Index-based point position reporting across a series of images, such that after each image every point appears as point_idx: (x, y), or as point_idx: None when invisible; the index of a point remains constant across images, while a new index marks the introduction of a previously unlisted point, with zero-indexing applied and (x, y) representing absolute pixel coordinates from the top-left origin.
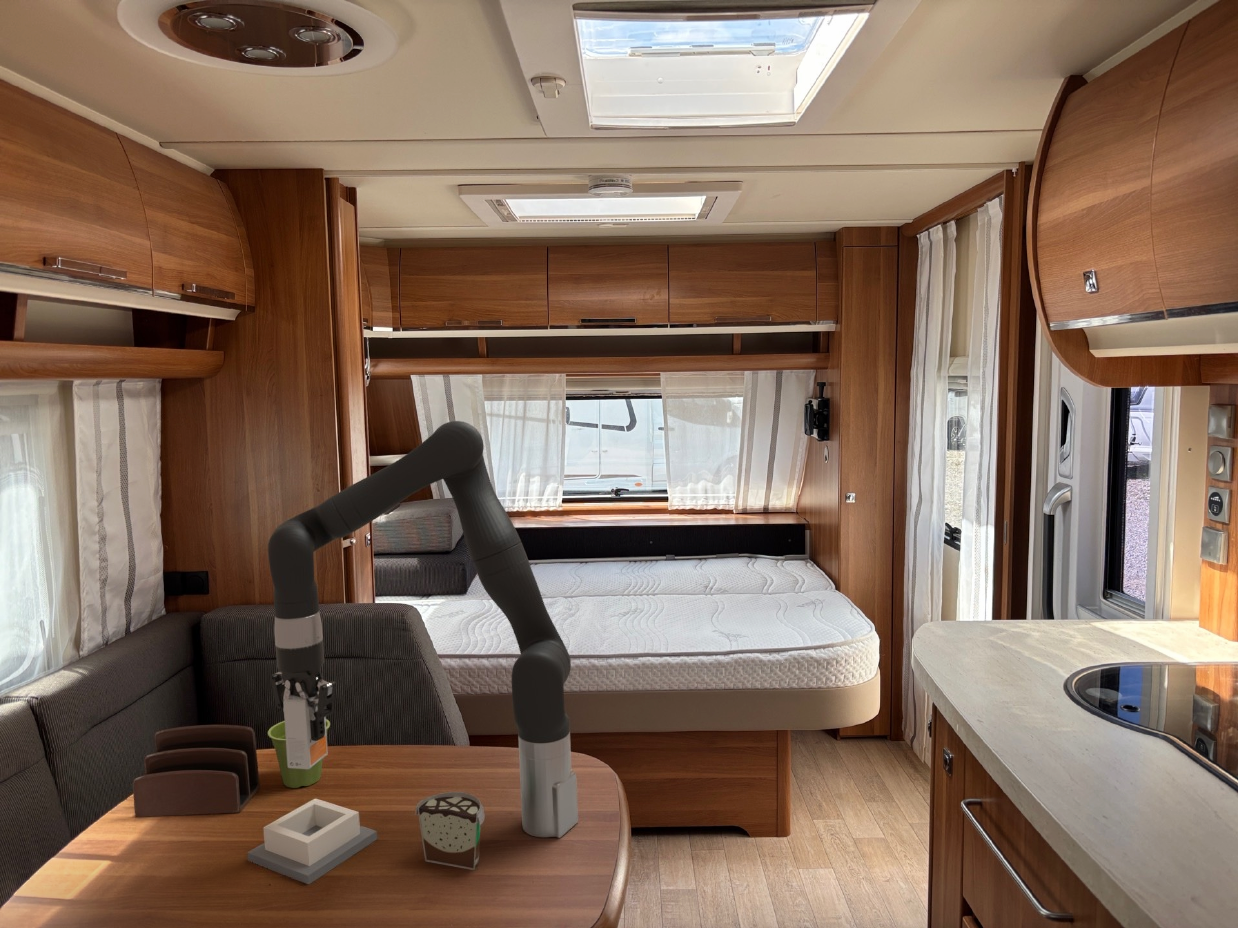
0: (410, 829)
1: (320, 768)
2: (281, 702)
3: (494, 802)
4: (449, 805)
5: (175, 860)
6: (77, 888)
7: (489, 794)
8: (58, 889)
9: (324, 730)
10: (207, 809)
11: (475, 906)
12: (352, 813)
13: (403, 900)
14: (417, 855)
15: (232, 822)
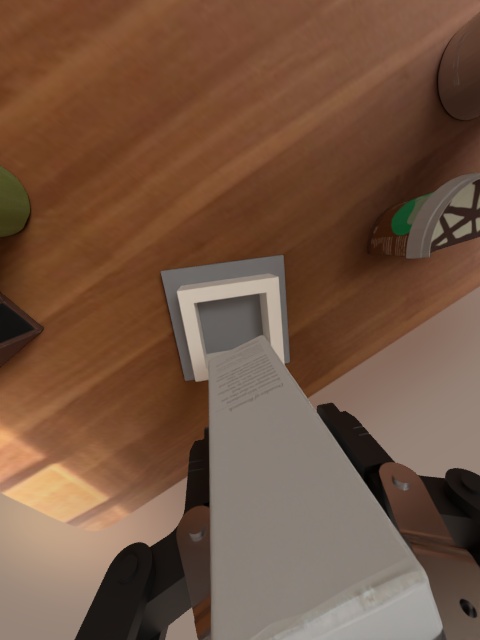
0: (300, 210)
1: (1, 169)
2: (161, 635)
3: (363, 56)
4: (465, 218)
5: (115, 422)
6: (92, 492)
7: (339, 32)
8: (79, 503)
9: (360, 425)
10: (4, 360)
11: (460, 280)
12: (273, 285)
13: (391, 316)
14: (351, 250)
15: (68, 347)
